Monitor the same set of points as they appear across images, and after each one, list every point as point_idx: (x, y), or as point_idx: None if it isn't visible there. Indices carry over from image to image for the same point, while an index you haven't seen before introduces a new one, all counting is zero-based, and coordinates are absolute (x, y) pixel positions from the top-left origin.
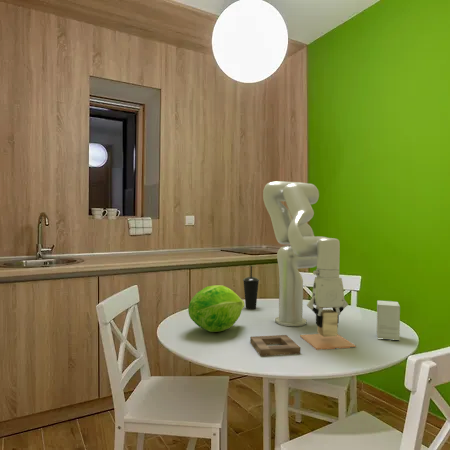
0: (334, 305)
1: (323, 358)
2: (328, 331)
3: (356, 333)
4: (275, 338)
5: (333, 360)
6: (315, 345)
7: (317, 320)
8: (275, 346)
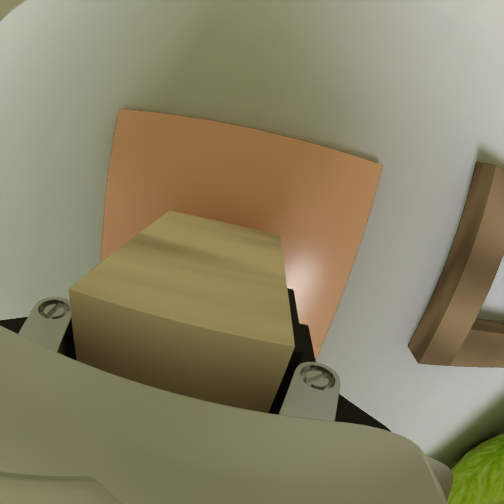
0: (54, 375)
1: (417, 52)
2: (237, 237)
3: (20, 296)
4: (487, 331)
5: (385, 9)
6: (358, 204)
7: (309, 349)
8: None
